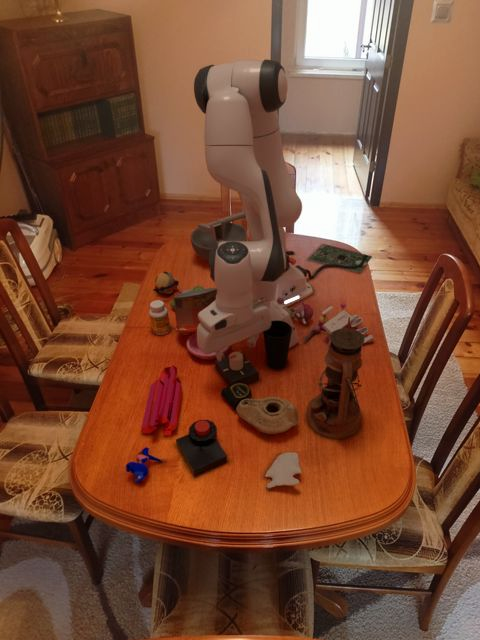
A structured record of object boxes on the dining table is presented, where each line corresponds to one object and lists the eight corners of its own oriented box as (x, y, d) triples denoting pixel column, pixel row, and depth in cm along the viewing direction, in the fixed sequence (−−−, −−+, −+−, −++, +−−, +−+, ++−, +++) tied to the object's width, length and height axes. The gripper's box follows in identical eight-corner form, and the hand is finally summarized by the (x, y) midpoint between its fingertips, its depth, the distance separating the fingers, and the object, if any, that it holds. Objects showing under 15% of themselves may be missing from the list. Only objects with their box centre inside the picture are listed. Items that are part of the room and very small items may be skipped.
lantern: (303, 394, 125) (311, 296, 106) (353, 393, 125) (370, 296, 106) (310, 445, 112) (320, 345, 93) (366, 444, 112) (387, 344, 93)
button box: (210, 427, 116) (209, 415, 114) (231, 459, 109) (231, 448, 107) (174, 442, 113) (172, 430, 110) (194, 476, 106) (192, 465, 103)
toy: (160, 267, 165) (142, 272, 151) (185, 269, 164) (169, 274, 150) (160, 290, 168) (142, 297, 153) (185, 292, 166) (169, 299, 152)
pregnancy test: (352, 320, 146) (354, 318, 146) (332, 336, 138) (334, 333, 137) (333, 304, 148) (335, 301, 147) (312, 319, 140) (314, 316, 139)
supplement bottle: (166, 322, 149) (161, 296, 143) (173, 331, 146) (169, 305, 139) (149, 328, 147) (144, 302, 141) (157, 337, 143) (152, 311, 137)
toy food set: (182, 322, 149) (181, 313, 147) (164, 302, 157) (163, 293, 155) (220, 309, 154) (219, 300, 152) (201, 290, 163) (200, 281, 161)
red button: (206, 423, 113) (205, 418, 112) (212, 433, 110) (212, 427, 109) (192, 429, 111) (192, 423, 110) (199, 438, 109) (198, 433, 108)
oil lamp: (238, 405, 122) (237, 382, 117) (298, 408, 121) (299, 385, 116) (233, 439, 114) (232, 416, 108) (297, 443, 113) (299, 419, 108)
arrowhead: (260, 483, 102) (269, 451, 110) (263, 491, 103) (271, 458, 111) (298, 481, 100) (303, 448, 108) (300, 489, 101) (306, 456, 109)
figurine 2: (270, 312, 136) (322, 304, 136) (264, 297, 147) (312, 290, 148) (274, 347, 140) (325, 339, 141) (268, 330, 152) (314, 322, 153)
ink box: (271, 334, 145) (258, 310, 136) (284, 324, 145) (271, 299, 137) (288, 350, 139) (275, 325, 130) (301, 339, 140) (289, 313, 131)
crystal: (137, 425, 110) (154, 354, 129) (140, 440, 113) (155, 369, 132) (174, 426, 110) (185, 355, 129) (175, 441, 114) (186, 370, 133)
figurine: (137, 470, 100) (143, 487, 103) (157, 446, 106) (163, 462, 109) (119, 466, 102) (126, 483, 105) (140, 443, 108) (146, 459, 111)
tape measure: (219, 398, 124) (219, 387, 122) (242, 387, 127) (242, 377, 125) (233, 414, 120) (233, 404, 117) (257, 403, 123) (256, 392, 120)
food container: (206, 286, 150) (213, 320, 152) (159, 297, 141) (167, 333, 144) (233, 285, 137) (240, 322, 139) (183, 298, 128) (191, 337, 131)
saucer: (212, 331, 145) (211, 322, 143) (240, 350, 139) (239, 341, 137) (178, 349, 139) (177, 341, 137) (206, 370, 132) (205, 361, 130)
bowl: (192, 246, 187) (190, 222, 180) (245, 244, 188) (245, 220, 182) (192, 273, 171) (190, 248, 165) (250, 270, 173) (249, 245, 166)
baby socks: (357, 311, 148) (359, 317, 149) (341, 319, 148) (343, 325, 150) (375, 336, 139) (376, 342, 141) (357, 345, 140) (360, 350, 141)
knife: (285, 254, 181) (285, 256, 181) (294, 252, 182) (294, 253, 183) (266, 240, 190) (266, 241, 191) (275, 237, 192) (275, 239, 192)
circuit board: (359, 273, 172) (359, 271, 171) (308, 259, 179) (308, 258, 179) (372, 257, 181) (372, 255, 180) (322, 244, 188) (323, 243, 188)
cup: (270, 375, 131) (271, 341, 123) (258, 359, 136) (257, 325, 128) (295, 366, 133) (297, 332, 125) (281, 350, 138) (283, 317, 131)
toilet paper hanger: (247, 219, 186) (245, 204, 182) (267, 226, 176) (266, 210, 173) (197, 236, 175) (194, 220, 172) (217, 243, 166) (214, 226, 163)
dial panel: (241, 359, 136) (240, 350, 134) (258, 380, 129) (258, 371, 127) (215, 368, 133) (214, 360, 131) (232, 390, 126) (231, 382, 124)
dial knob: (239, 360, 131) (238, 349, 128) (245, 367, 128) (245, 356, 126) (227, 364, 129) (226, 353, 127) (233, 372, 127) (233, 361, 125)
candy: (345, 349, 139) (347, 332, 135) (317, 347, 140) (318, 330, 136) (344, 313, 153) (347, 297, 149) (319, 311, 153) (320, 295, 150)
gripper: (262, 289, 124) (262, 332, 132) (191, 316, 115) (196, 360, 123) (277, 301, 120) (275, 344, 128) (204, 329, 111) (208, 374, 119)
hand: (236, 352), depth 126 cm, fingers open, 8 cm apart
